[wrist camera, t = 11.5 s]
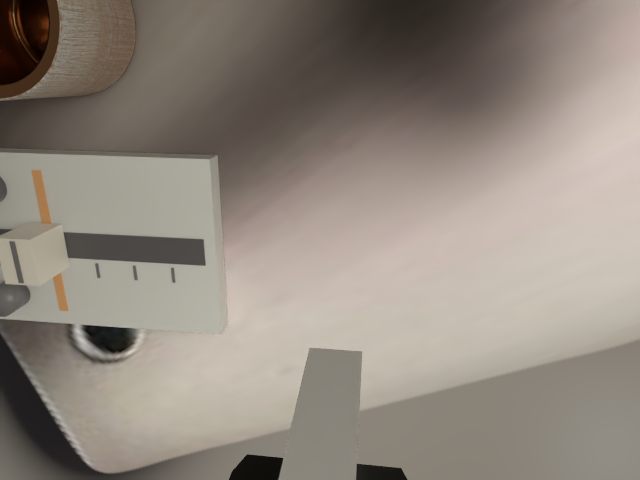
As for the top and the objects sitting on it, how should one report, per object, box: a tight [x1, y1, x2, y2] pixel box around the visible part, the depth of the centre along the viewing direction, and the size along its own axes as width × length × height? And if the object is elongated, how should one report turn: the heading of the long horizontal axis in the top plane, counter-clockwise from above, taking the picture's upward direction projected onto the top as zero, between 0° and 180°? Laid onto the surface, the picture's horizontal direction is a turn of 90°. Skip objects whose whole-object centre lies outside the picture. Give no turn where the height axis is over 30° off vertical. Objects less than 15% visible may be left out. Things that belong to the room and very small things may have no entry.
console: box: [0, 148, 228, 335], centre depth 41 cm, size 16×22×4 cm
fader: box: [0, 222, 70, 286], centre depth 39 cm, size 4×3×4 cm
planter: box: [0, 0, 136, 101], centre depth 32 cm, size 11×11×10 cm
